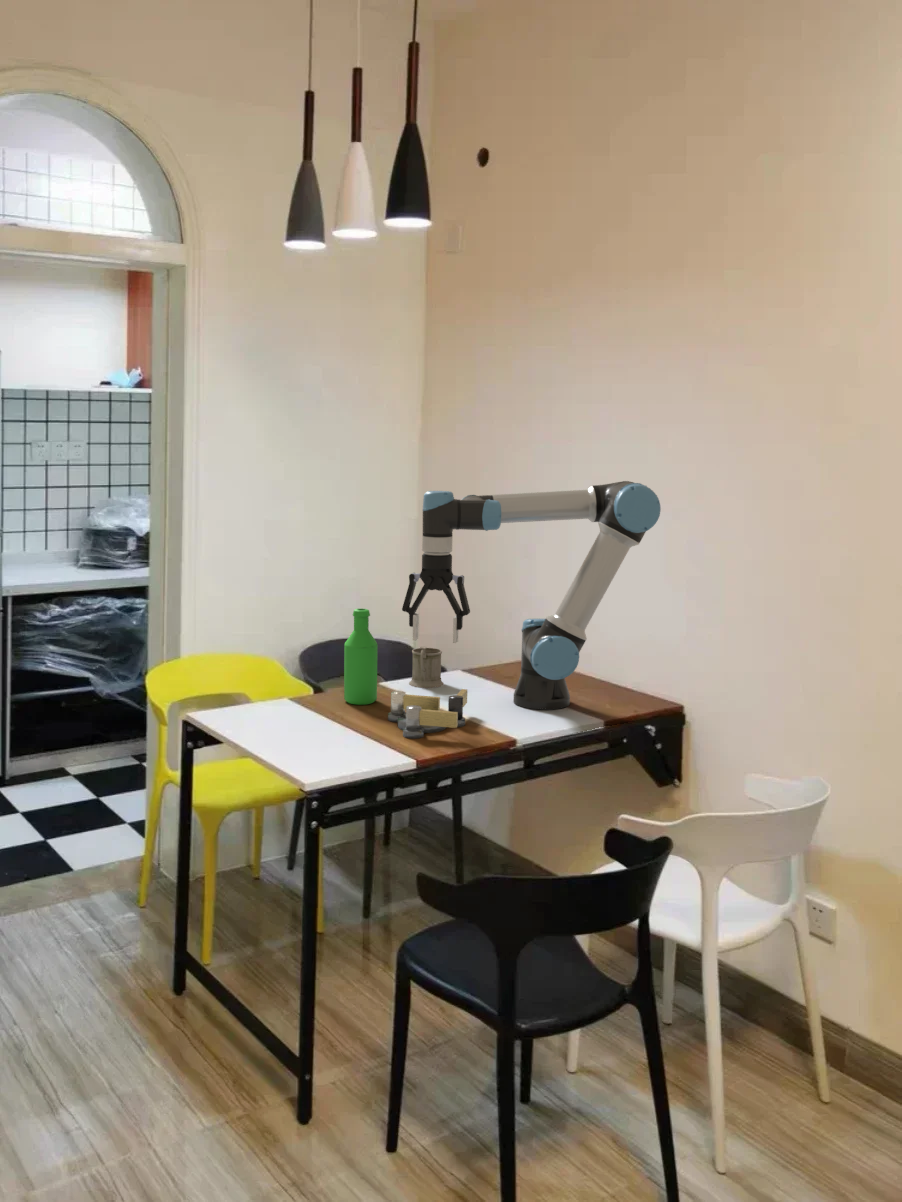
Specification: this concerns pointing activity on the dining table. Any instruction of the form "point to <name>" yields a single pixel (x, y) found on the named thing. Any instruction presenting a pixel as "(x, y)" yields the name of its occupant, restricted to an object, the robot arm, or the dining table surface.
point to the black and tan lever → (458, 703)
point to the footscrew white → (412, 702)
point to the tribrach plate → (424, 728)
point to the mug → (426, 668)
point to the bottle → (360, 662)
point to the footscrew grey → (429, 718)
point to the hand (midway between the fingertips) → (435, 640)
